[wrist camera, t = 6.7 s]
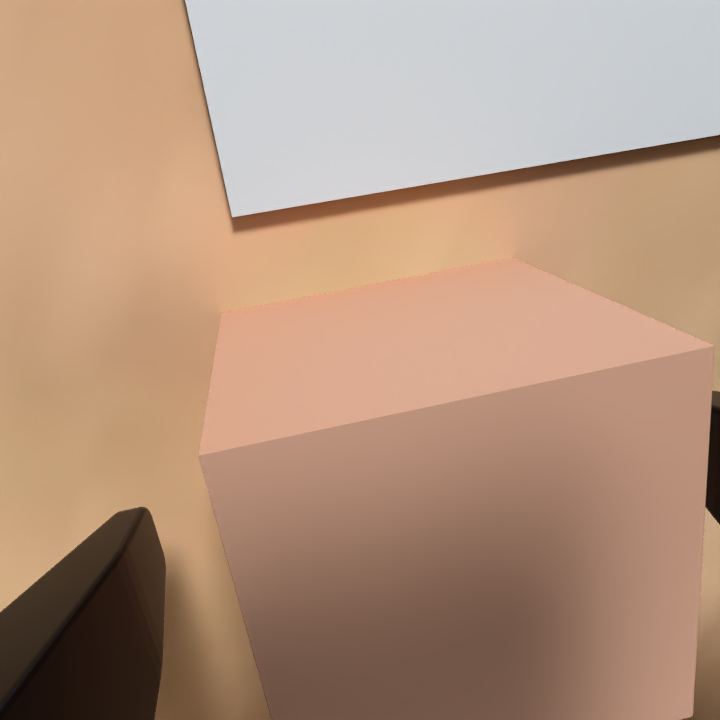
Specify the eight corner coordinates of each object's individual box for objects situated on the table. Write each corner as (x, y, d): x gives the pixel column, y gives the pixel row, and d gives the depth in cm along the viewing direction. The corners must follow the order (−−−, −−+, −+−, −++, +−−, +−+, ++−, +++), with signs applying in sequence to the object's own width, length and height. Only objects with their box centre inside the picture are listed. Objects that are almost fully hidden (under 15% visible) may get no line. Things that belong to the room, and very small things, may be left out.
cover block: (511, 256, 11) (715, 345, 6) (526, 501, 12) (693, 716, 8) (222, 311, 10) (199, 456, 5) (281, 558, 12) (301, 826, 7)
